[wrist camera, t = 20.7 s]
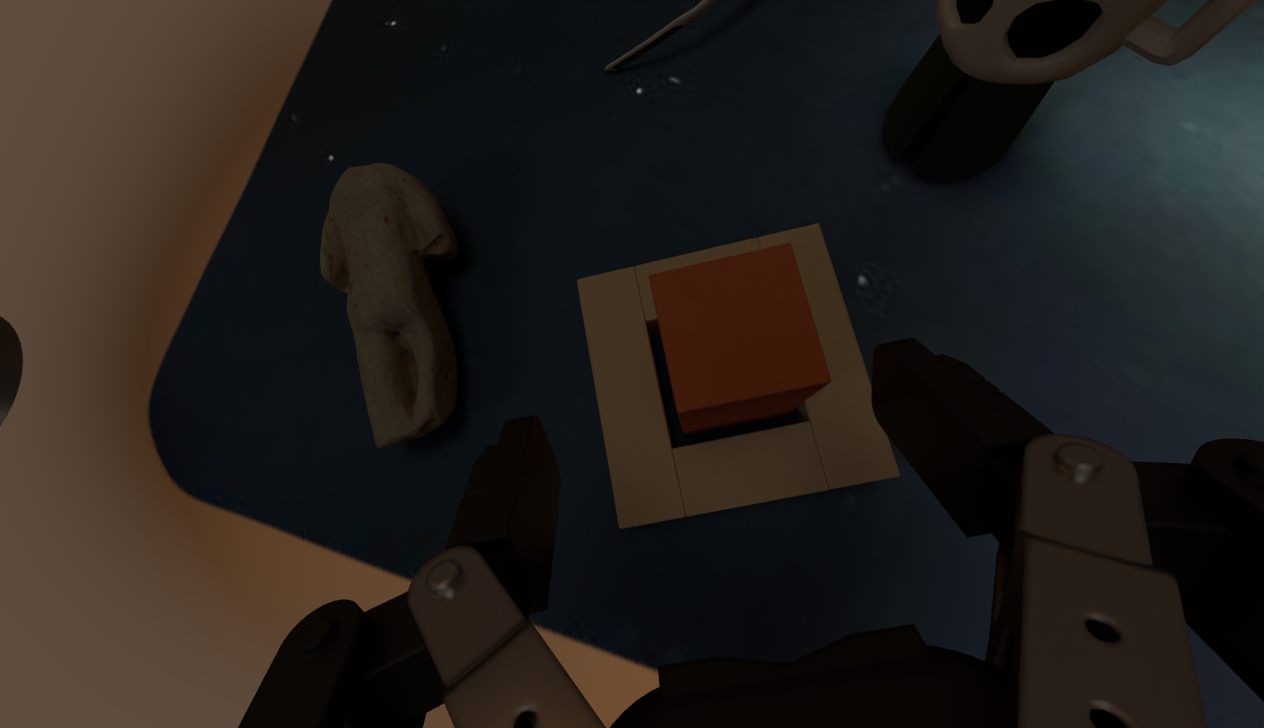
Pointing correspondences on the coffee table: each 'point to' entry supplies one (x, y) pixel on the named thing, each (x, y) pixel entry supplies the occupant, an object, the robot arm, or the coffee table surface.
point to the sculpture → (393, 297)
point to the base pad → (739, 465)
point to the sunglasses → (662, 35)
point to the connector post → (738, 339)
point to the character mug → (1022, 69)
